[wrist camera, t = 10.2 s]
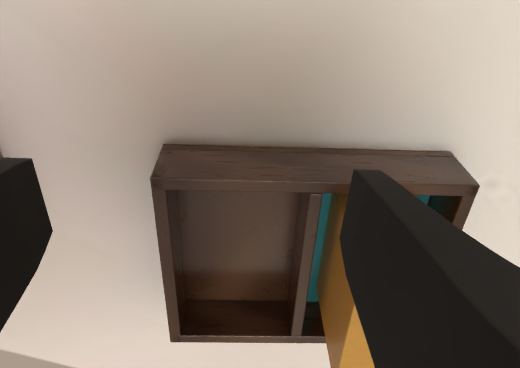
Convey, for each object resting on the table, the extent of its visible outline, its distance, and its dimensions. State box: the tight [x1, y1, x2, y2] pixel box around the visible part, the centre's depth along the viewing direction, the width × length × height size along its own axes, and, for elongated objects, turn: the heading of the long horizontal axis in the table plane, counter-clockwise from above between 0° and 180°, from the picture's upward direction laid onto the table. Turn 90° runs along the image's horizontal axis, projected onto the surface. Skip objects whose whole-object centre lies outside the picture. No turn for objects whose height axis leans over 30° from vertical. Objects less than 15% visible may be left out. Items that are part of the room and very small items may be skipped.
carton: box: [316, 193, 417, 368], centre depth 19 cm, size 4×7×6 cm, turn 178°
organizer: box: [150, 144, 480, 343], centre depth 21 cm, size 14×11×3 cm
